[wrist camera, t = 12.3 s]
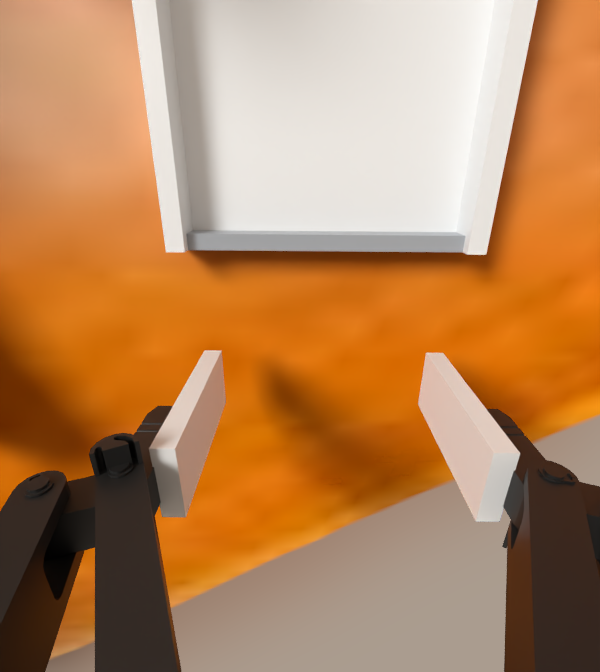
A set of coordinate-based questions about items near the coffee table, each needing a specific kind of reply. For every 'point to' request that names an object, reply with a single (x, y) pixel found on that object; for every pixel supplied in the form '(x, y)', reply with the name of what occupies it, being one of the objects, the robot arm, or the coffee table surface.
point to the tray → (331, 120)
